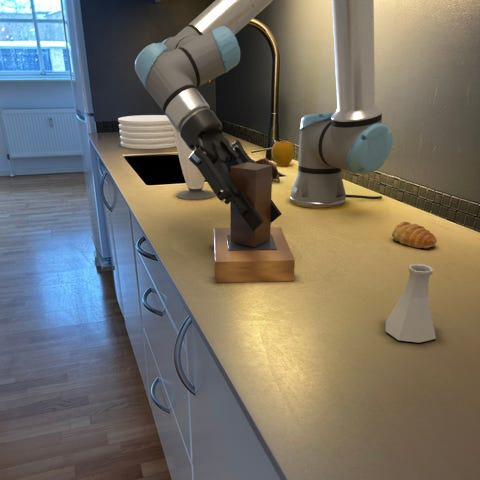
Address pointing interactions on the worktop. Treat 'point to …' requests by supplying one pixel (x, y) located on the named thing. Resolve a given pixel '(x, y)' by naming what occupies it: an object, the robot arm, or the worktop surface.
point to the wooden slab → (252, 259)
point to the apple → (283, 153)
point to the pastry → (413, 235)
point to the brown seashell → (274, 169)
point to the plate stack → (146, 132)
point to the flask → (413, 309)
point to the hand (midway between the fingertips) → (267, 222)
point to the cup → (190, 173)
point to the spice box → (252, 202)
